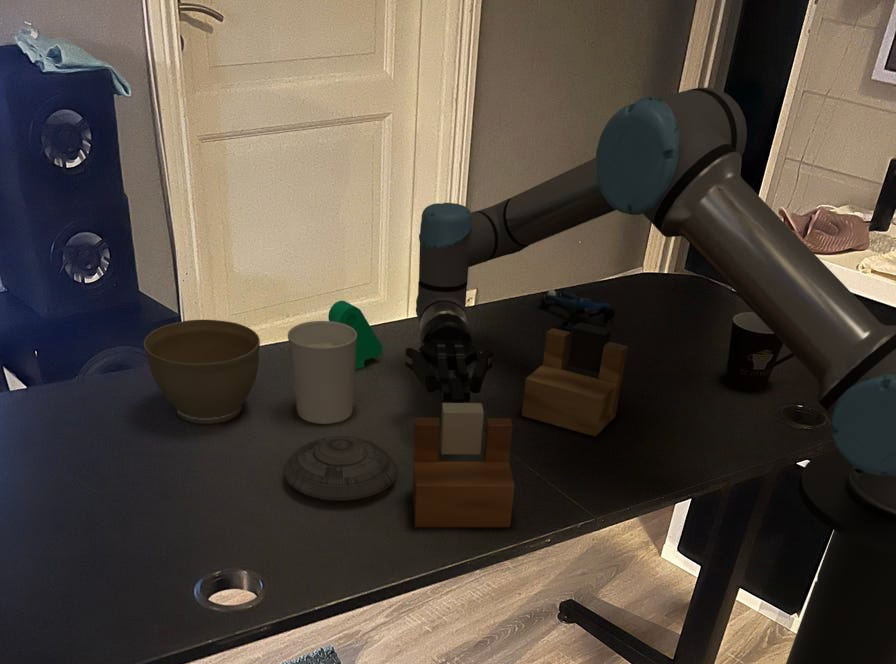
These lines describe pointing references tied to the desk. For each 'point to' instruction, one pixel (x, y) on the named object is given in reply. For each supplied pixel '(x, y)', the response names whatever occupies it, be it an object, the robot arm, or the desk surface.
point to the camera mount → (357, 331)
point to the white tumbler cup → (323, 370)
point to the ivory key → (461, 428)
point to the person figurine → (578, 305)
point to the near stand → (462, 480)
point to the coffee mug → (752, 353)
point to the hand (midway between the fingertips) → (458, 408)
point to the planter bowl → (204, 366)
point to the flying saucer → (340, 469)
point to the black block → (588, 346)
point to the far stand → (574, 388)
